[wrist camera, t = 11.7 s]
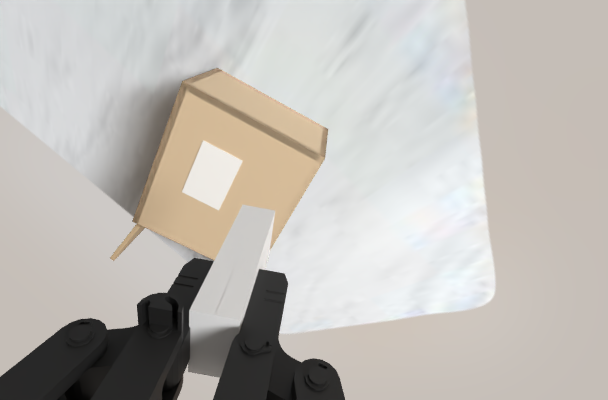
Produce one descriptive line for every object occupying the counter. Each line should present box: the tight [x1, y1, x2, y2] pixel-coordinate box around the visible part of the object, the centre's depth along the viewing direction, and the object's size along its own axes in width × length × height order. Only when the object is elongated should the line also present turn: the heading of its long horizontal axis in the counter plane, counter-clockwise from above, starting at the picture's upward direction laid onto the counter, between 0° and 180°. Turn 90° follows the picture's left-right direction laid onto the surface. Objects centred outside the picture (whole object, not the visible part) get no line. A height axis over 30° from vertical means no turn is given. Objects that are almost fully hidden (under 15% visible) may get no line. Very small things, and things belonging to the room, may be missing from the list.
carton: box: [133, 68, 328, 260], centre depth 40 cm, size 16×14×10 cm
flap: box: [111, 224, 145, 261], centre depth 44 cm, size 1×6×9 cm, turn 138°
